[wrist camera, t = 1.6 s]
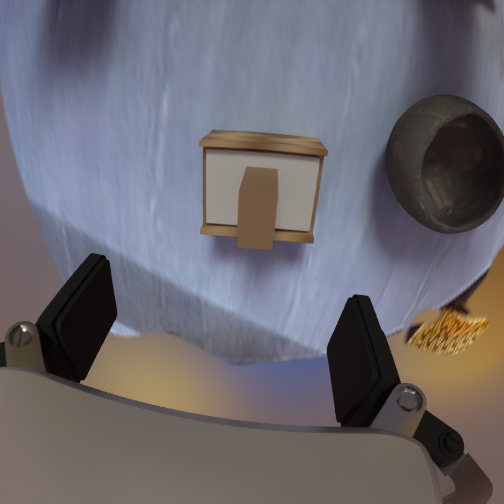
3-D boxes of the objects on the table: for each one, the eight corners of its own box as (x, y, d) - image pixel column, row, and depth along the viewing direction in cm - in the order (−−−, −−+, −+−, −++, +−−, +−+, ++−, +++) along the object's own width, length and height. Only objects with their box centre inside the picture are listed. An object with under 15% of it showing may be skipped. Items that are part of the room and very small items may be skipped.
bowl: (349, 130, 31) (376, 148, 23) (441, 72, 26) (490, 77, 17) (404, 224, 37) (434, 266, 28) (483, 170, 31) (526, 199, 23)
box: (318, 138, 32) (327, 151, 26) (307, 216, 37) (313, 243, 32) (212, 130, 32) (199, 141, 27) (211, 209, 38) (200, 234, 32)
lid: (318, 156, 28) (332, 181, 22) (308, 227, 33) (316, 269, 26) (207, 147, 29) (187, 169, 22) (207, 219, 33) (190, 258, 26)
